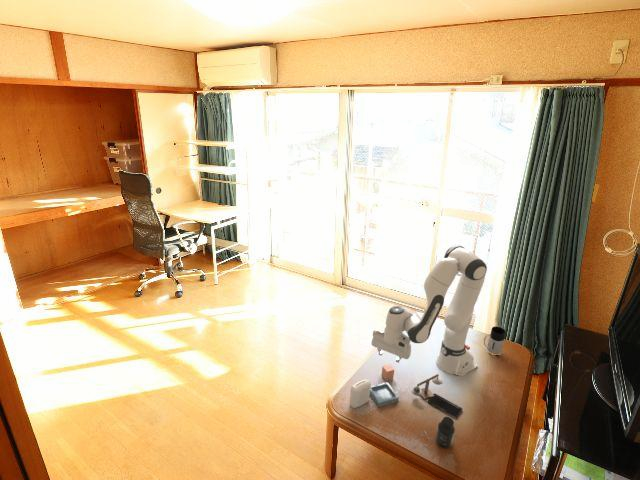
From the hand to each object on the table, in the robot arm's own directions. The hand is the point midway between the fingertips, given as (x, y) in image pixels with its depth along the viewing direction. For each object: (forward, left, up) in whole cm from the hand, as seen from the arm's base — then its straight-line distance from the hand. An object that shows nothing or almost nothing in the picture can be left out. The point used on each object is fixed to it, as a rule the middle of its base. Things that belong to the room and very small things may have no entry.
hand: (389, 358), depth 192 cm
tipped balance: (-12, +17, -12) cm, 24 cm away
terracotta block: (0, 0, -13) cm, 13 cm away
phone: (-17, +27, -13) cm, 34 cm away
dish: (+9, +11, -12) cm, 19 cm away
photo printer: (+22, +11, -13) cm, 27 cm away
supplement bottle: (-3, +43, -13) cm, 45 cm away
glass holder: (-69, +2, -13) cm, 70 cm away
